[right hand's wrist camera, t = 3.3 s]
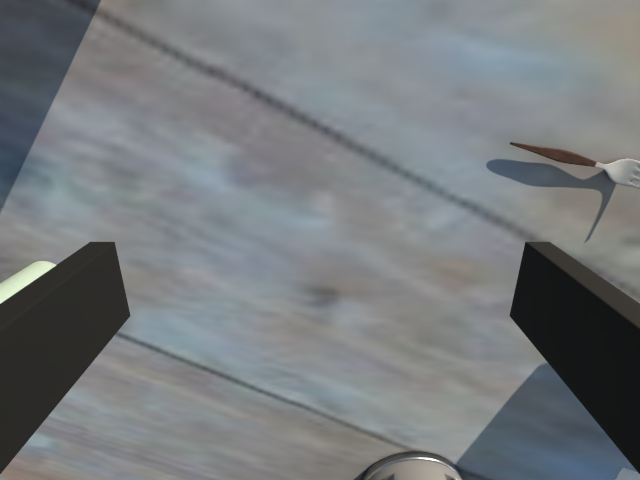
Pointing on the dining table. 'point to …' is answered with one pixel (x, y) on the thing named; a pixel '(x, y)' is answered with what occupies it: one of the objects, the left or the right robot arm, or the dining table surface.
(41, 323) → the right robot arm
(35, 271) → the pale green cylinder
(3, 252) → the dining table surface
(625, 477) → the white plastic object
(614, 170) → the fork
